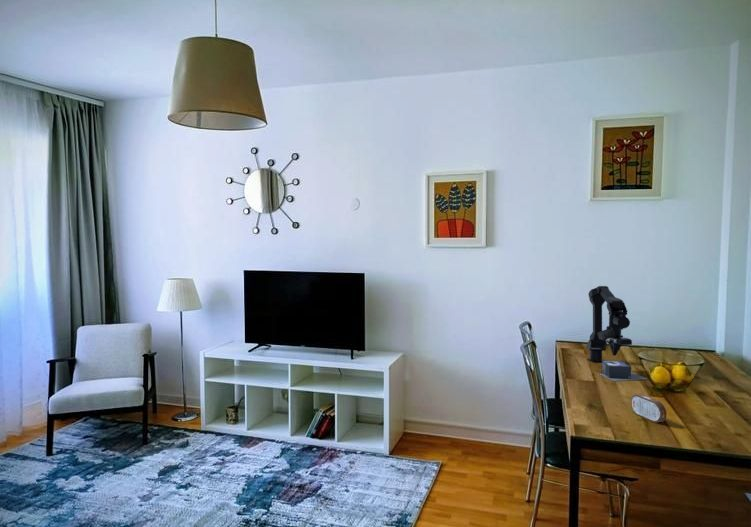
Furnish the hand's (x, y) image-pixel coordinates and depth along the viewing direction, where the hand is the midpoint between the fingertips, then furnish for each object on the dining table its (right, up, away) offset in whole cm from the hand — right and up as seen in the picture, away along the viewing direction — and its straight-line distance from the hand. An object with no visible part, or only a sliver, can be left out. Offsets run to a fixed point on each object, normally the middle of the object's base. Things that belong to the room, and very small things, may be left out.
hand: (614, 355), depth 257 cm
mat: (+1, -9, -6) cm, 12 cm away
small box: (-1, -6, 0) cm, 6 cm away
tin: (-17, -13, -63) cm, 66 cm away
